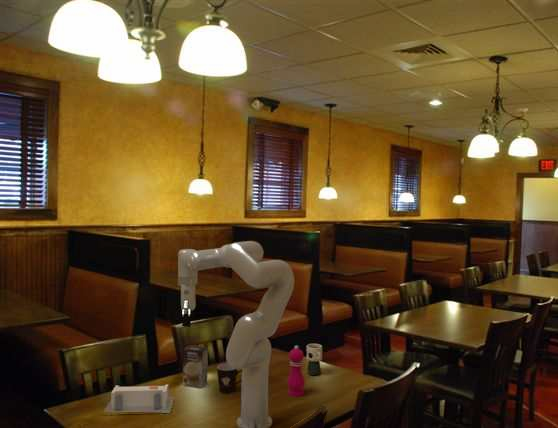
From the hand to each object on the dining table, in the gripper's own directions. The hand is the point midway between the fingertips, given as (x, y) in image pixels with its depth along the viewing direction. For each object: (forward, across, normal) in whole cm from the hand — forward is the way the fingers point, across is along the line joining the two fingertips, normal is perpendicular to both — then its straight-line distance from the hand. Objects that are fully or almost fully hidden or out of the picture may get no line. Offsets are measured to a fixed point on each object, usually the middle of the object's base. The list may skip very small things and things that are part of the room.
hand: (187, 323), depth 198 cm
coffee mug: (+31, +6, -17) cm, 35 cm away
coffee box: (+31, +14, -2) cm, 34 cm away
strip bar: (+29, -8, +17) cm, 34 cm away
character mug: (+31, +24, -55) cm, 67 cm away
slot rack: (+30, -8, +17) cm, 36 cm away
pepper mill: (+31, +2, -44) cm, 54 cm away
